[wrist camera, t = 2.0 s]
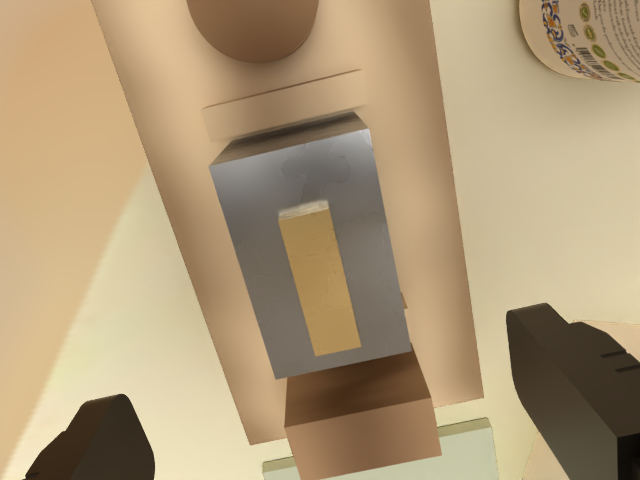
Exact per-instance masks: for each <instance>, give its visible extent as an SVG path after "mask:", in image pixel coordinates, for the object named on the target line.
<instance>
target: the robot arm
mask: <svg viewBox="0 0 640 480" xmlns="http://www.w3.org/2000/svg"><path fill="white" fill-rule="evenodd" d="M506 324H507V333H508V342H509V351H510V360H511V370H512V377H513V381H514V385H515V389H516V391H517V394H518V397H519V399H520V401H521V403H522V405H523V407H524V408H525V410H526V411H527V413H528V415H529V416H530V418H531V419H532V421H533V422H534V424H535V426H536V427H537V429H538V430H539V432H540V434H541V435H542V437H543V438H544V440H545V441H546V443H547V445H548V446H549V448H550V449H551V451H552V452H553V454H554V456H555V457H556V459H557V460H558V462H559V463H560V465H561V467H562V468H563V470H564V471H565V473H566V474H567V476H568V478H569V479H570V480H640V362H639V361H638V360H637V359H636V358H635V357H634V356H632V355H631V354H630V353H627V352H626V349H625V348H624V347H622V346H621V345H620V344H619V343H618V342H617V341H616V340H615V339H614V338H612V337H611V336H610V335H609V334H608V333H606V332H604V331H602V330H600V329H597V328H595V327H593V326H591V325H588V324H586V323H584V322H582V321H580V322H575V323H571V324H568V323H567V322H566V321H565V320H564V319H563V318H562V317H561V316H560V315H559V314H558V313H557V312H556V311H555V310H554V309H553V308H552V307H551V306H550V305H549V304H547V303H542V304H537V305H532V306H528V307H523V308H518V309H514V310H509V311H508V312H507V314H506ZM154 474H155V461H154V454H153V451H152V448H151V446H150V444H149V441H148V439H147V437H146V435H145V432H144V430H143V428H142V426H141V423H140V421H139V419H138V417H137V414H136V412H135V410H134V408H133V406H132V403H131V401H130V400H129V398H128V397H127V396H126V395H124V394H118V395H113V396H109V397H104V398H99V399H95V400H90V401H87V402H85V403H84V404H83V405H82V406H81V407H80V409H79V410H78V412H77V414H76V415H75V417H74V418H73V420H72V421H71V423H70V425H69V426H68V428H67V429H66V431H62V432H61V433H60V434H59V435H58V436H57V437H56V438H55V439H54V440H53V441H52V442H51V443H50V444H49V445H48V446H47V447H46V448H45V449H43V450H42V451H41V452H40V454H39V455H38V457H37V458H36V460H35V461H34V463H33V464H32V466H31V467H30V469H29V470H28V472H27V473H26V475H25V476H26V478H25V479H23V480H154Z"/></svg>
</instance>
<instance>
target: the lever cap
mask: <svg viewBox="0 0 640 480" xmlns="http://www.w3.org/2000/svg"><path fill="white" fill-rule="evenodd" d="M208 167H209V170H210V173H211V176H212V180H213V183H214V186H215V189H216V192H217V195H218V199H219V202H220V205H221V208H222V211H223V214H224V218H225V221H226V224H227V227H228V230H229V234H230V237H231V240H232V243H233V246H234V249H235V253H236V256H237V259H238V262H239V265H240V268H241V272H242V275H243V278H244V281H245V284H246V287H247V291H248V294H249V297H250V300H251V303H252V307H253V310H254V313H255V316H256V319H257V322H258V326H259V329H260V332H261V335H262V338H263V341H264V345H265V348H266V351H267V354H268V357H269V360H270V364H271V367H272V370H273V373H274V376H275V380H277V379H282V378H287V377H291V376H296V375H301V374H306V373H310V372H315V371H320V370H325V369H329V368H334V367H339V366H344V365H348V364H353V363H358V362H363V361H367V360H372V359H377V358H382V357H386V356H391V355H396V354H401V353H405V352H410V351H412V349H411V344H410V338H409V333H408V328H407V323H406V318H405V313H404V307H403V302H402V297H401V292H400V287H399V281H398V276H397V271H396V266H395V261H394V256H393V250H392V245H391V240H390V235H389V230H388V224H387V219H386V214H385V209H384V204H383V199H382V193H381V188H380V183H379V178H378V173H377V167H376V162H375V157H374V152H373V147H372V142H371V136H370V131H369V128H368V127H367V126H366V124H365V123H364V122H363V121H362V120H361V119H360V118H359V116H358V115H357V114H356V113H355V112H354V111H352V112H348V113H344V114H340V115H336V116H332V117H327V118H323V119H319V120H315V121H311V122H306V123H302V124H298V125H294V126H290V127H286V128H281V129H277V130H273V131H269V132H265V133H261V134H256V135H252V136H248V137H244V138H240V139H235V140H232V141H231V142H230V143H229V144H228V145H227V146H226V147H225V148H224V150H223V151H222V152H221V153H220V154H219V155H218V156H217V157H216V158H215V160H214V161H213V162H212V163H211V164H210V165H209V166H208Z"/></svg>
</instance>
